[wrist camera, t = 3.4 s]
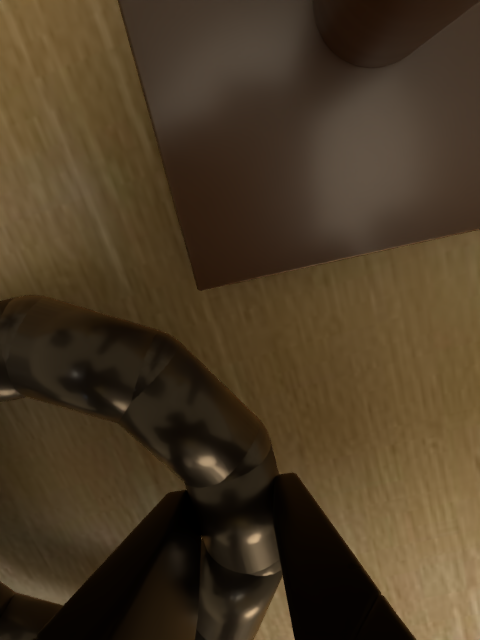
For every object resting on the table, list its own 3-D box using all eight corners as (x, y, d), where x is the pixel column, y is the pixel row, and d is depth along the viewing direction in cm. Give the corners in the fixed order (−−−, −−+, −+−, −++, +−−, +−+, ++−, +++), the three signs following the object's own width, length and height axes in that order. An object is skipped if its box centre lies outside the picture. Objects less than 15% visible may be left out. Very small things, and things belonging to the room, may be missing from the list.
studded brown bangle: (321, 621, 11) (330, 703, 9) (-25, 659, 12) (-72, 737, 11) (227, 241, 8) (215, 261, 7) (-213, 343, 10) (-318, 382, 8)
